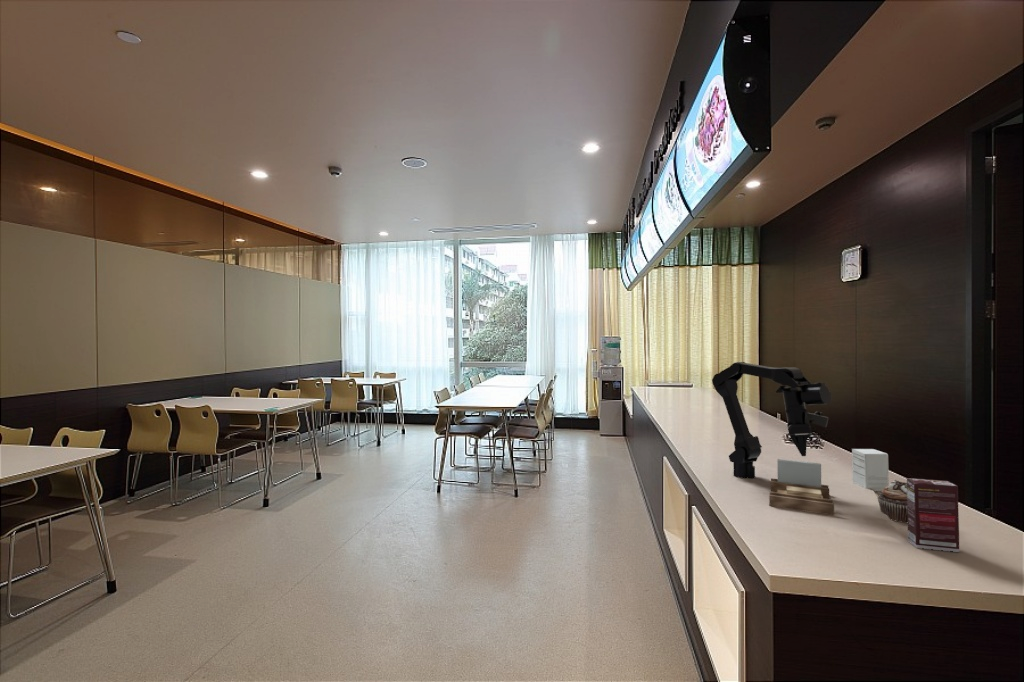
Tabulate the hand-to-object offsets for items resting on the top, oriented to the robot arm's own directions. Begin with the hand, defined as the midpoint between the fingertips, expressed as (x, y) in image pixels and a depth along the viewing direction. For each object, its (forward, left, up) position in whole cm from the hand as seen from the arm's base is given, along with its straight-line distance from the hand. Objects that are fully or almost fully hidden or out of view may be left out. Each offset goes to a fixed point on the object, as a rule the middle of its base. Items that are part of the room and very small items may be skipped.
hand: (803, 454), depth 152 cm
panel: (-1, -1, -12) cm, 12 cm away
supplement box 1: (+20, +19, -14) cm, 31 cm away
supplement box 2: (+26, -29, -14) cm, 41 cm away
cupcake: (+23, -9, -14) cm, 28 cm away
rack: (-1, -9, -13) cm, 16 cm away
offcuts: (-1, -9, -12) cm, 15 cm away
